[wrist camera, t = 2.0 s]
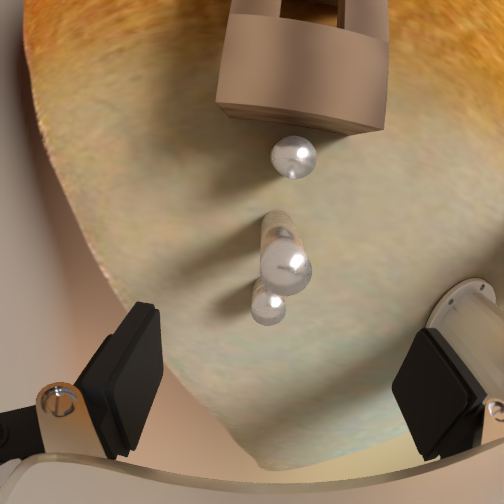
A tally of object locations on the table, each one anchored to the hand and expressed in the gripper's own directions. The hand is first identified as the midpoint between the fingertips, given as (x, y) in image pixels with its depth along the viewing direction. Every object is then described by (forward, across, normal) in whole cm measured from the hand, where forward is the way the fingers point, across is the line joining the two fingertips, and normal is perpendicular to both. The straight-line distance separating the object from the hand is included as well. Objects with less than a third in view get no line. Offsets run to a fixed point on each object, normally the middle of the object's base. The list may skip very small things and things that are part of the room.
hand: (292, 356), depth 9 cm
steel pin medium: (+19, -1, -6) cm, 20 cm away
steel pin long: (+19, -1, 0) cm, 19 cm away
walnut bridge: (+19, -1, -18) cm, 26 cm away
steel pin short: (+19, -1, +7) cm, 20 cm away
